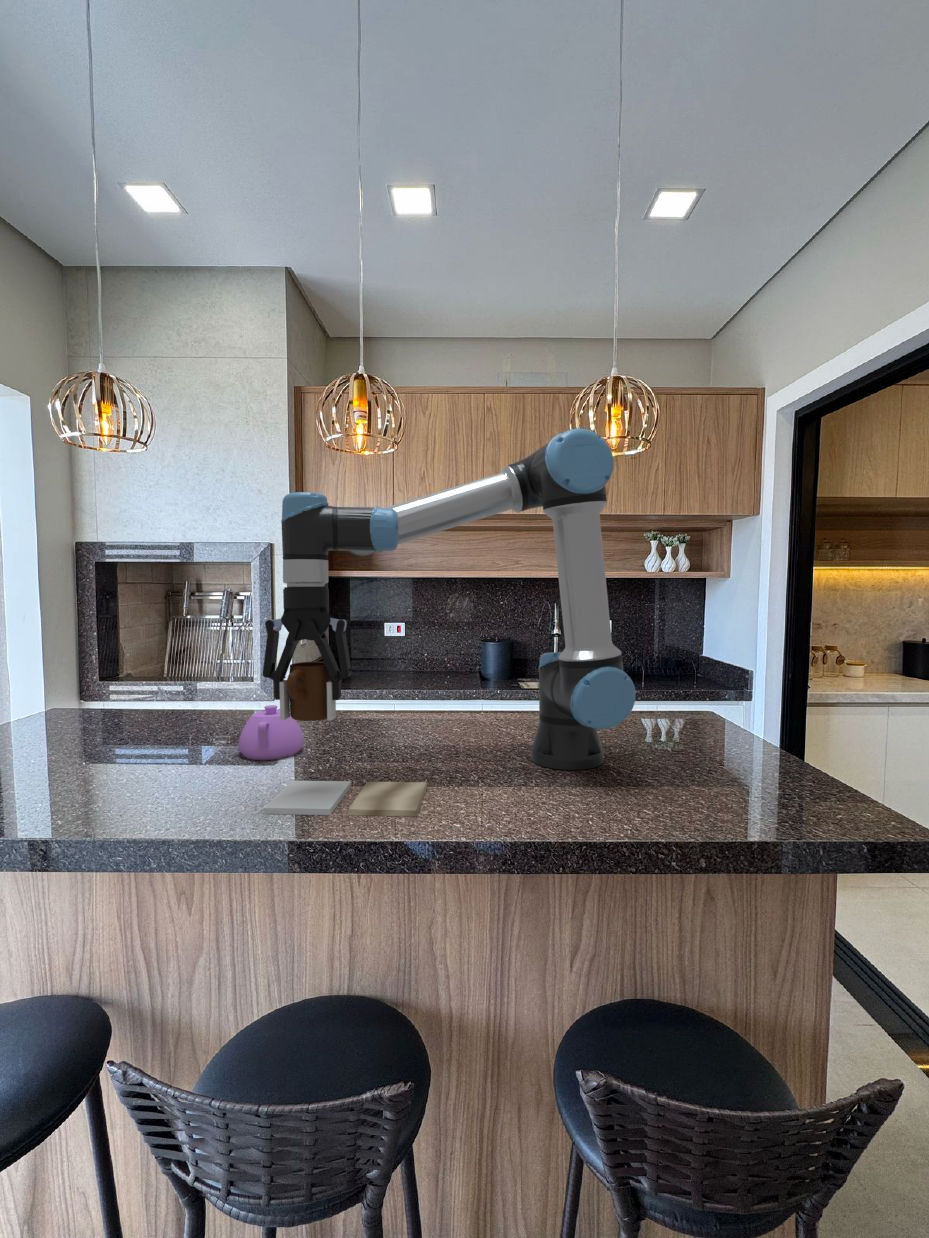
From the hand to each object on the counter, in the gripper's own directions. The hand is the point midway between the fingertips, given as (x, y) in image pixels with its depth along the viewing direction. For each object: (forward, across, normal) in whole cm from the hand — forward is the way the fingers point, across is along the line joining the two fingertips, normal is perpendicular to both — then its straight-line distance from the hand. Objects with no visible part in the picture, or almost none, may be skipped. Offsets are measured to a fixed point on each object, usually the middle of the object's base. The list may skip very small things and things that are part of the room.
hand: (308, 718), depth 105 cm
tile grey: (+14, 0, 0) cm, 14 cm away
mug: (0, 0, 0) cm, 1 cm away
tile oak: (+14, -14, 0) cm, 20 cm away
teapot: (+15, +18, -30) cm, 38 cm away
